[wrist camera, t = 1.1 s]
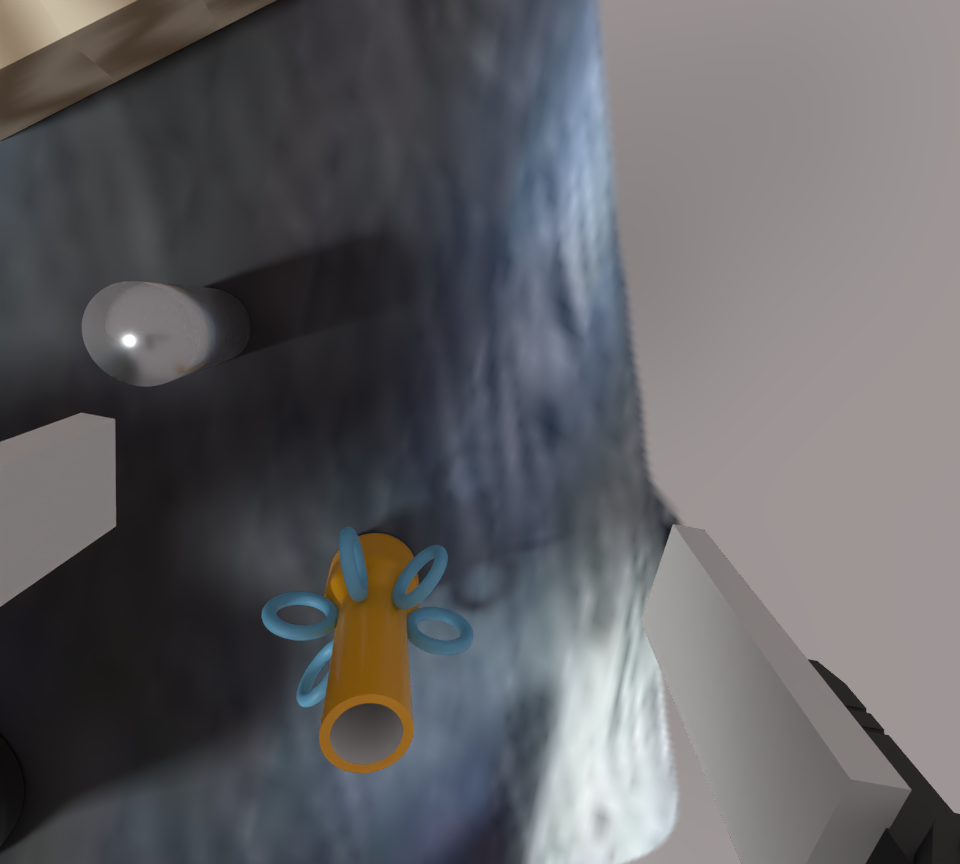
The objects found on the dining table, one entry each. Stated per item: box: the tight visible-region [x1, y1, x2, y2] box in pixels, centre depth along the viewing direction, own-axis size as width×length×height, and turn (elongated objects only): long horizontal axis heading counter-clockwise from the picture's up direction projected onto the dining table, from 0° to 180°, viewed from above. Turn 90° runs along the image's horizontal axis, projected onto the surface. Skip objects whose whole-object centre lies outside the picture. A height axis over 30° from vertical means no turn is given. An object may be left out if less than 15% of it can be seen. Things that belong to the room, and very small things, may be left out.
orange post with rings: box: [262, 526, 473, 773], centre depth 31 cm, size 12×10×15 cm
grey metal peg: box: [82, 281, 251, 386], centre depth 28 cm, size 4×4×10 cm
